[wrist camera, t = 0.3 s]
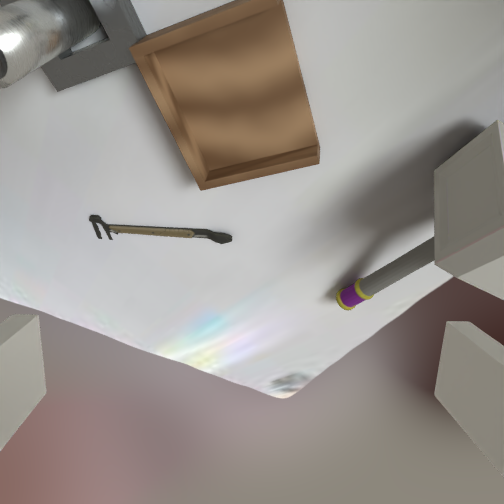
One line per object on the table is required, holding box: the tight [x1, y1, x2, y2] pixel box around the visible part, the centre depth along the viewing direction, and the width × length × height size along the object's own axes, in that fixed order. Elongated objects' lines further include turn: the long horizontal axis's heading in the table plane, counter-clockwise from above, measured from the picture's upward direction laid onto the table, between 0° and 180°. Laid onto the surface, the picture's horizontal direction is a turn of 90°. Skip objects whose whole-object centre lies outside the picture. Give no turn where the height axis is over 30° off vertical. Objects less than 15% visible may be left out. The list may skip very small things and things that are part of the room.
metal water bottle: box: [0, 0, 100, 88], centre depth 32 cm, size 4×4×15 cm
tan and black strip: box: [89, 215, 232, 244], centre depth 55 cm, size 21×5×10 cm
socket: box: [0, 0, 146, 92], centre depth 36 cm, size 11×11×2 cm
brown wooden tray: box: [129, 0, 320, 190], centre depth 39 cm, size 16×14×4 cm
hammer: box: [336, 120, 504, 310], centre depth 46 cm, size 15×8×30 cm
